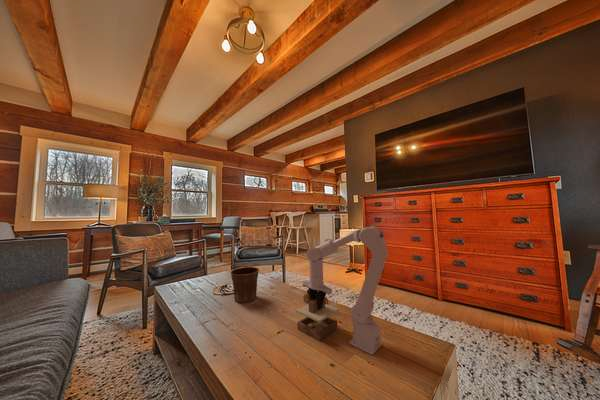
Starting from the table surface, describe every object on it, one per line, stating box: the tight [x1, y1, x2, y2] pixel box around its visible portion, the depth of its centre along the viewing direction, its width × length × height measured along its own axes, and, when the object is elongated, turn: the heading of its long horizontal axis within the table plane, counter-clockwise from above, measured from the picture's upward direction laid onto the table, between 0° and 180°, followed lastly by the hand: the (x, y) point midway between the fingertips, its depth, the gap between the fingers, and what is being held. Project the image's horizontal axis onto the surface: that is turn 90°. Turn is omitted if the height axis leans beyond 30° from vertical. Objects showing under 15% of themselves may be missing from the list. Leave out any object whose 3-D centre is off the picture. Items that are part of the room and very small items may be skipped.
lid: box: [295, 298, 339, 322], centre depth 91 cm, size 13×13×5 cm
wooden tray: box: [297, 316, 339, 342], centre depth 90 cm, size 12×12×3 cm
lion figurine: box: [302, 292, 330, 305], centre depth 108 cm, size 15×5×9 cm, turn 109°
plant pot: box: [230, 266, 260, 304], centre depth 123 cm, size 16×16×16 cm
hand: (317, 307), depth 90 cm, fingers closed on lid, 2 cm apart
